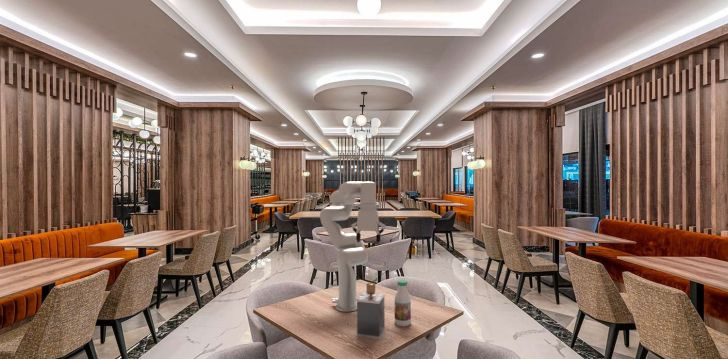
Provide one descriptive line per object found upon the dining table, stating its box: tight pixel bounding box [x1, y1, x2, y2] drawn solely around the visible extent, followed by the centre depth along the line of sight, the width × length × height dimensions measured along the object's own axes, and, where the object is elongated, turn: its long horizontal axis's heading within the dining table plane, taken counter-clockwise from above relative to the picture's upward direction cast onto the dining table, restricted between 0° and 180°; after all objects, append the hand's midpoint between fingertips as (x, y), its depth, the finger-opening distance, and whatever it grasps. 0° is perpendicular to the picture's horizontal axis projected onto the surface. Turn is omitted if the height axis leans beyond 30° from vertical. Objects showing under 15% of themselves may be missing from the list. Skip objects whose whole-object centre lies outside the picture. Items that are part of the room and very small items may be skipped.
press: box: [356, 291, 386, 340], centre depth 141 cm, size 10×13×16 cm
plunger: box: [366, 282, 376, 297], centre depth 140 cm, size 8×8×20 cm
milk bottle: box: [394, 279, 412, 327], centre depth 149 cm, size 8×8×20 cm
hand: (368, 242), depth 151 cm, fingers open, 9 cm apart
